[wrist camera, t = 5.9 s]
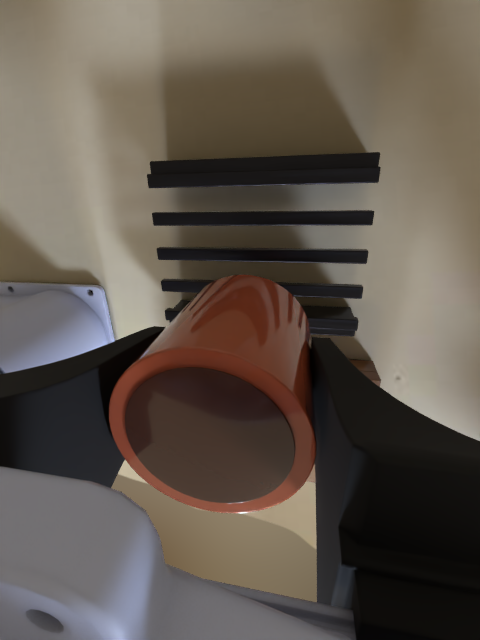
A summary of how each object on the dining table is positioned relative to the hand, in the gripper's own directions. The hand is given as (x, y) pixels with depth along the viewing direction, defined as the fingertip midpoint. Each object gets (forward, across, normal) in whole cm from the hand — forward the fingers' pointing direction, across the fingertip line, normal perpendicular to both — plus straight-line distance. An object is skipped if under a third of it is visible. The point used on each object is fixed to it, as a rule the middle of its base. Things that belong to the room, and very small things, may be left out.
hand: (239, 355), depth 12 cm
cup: (+2, 0, 0) cm, 2 cm away
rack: (+10, 0, -2) cm, 11 cm away
